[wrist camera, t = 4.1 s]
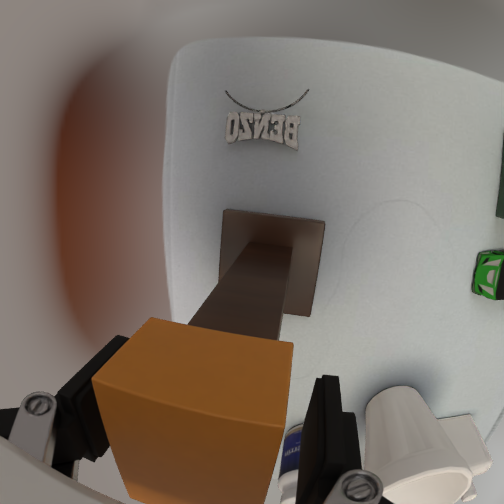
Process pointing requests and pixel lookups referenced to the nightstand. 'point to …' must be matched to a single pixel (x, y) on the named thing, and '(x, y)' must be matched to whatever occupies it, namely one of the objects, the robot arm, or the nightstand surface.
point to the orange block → (195, 413)
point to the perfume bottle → (468, 446)
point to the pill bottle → (290, 465)
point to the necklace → (263, 126)
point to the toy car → (490, 275)
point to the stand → (262, 273)
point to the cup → (412, 451)
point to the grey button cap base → (501, 192)
